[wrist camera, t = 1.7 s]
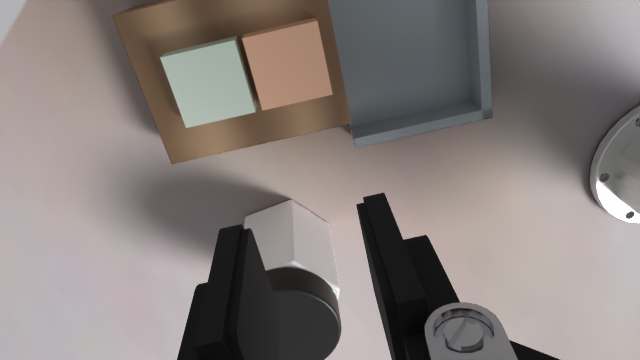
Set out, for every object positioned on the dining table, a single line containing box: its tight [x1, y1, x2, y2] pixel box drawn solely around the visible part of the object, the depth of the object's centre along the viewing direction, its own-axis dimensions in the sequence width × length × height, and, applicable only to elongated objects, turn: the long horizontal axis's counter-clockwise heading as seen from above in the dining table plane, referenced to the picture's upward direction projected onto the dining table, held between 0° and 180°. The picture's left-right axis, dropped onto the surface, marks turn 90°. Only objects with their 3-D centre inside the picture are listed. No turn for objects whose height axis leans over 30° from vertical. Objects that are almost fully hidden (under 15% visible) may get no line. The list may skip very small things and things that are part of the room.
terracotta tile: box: [242, 17, 333, 111], centre depth 32 cm, size 5×5×2 cm
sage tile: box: [160, 36, 257, 128], centre depth 32 cm, size 5×5×2 cm
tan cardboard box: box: [112, 0, 351, 164], centre depth 35 cm, size 14×11×4 cm
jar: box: [244, 200, 341, 360], centre depth 39 cm, size 9×8×12 cm
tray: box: [328, 0, 493, 148], centre depth 35 cm, size 11×16×3 cm
